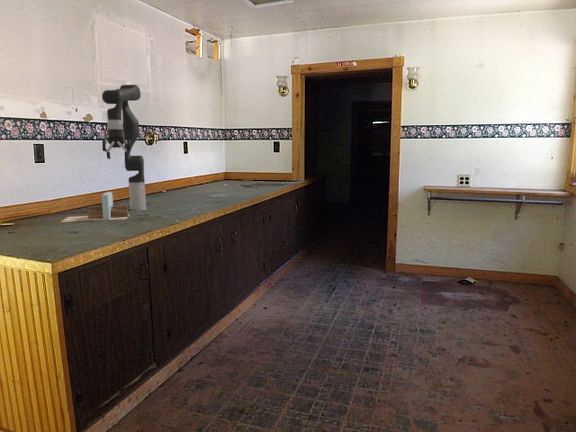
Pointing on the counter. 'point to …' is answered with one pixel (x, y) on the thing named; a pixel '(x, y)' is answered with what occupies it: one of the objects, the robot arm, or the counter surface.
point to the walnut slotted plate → (116, 212)
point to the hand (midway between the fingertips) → (117, 159)
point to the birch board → (85, 218)
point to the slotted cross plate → (107, 205)
